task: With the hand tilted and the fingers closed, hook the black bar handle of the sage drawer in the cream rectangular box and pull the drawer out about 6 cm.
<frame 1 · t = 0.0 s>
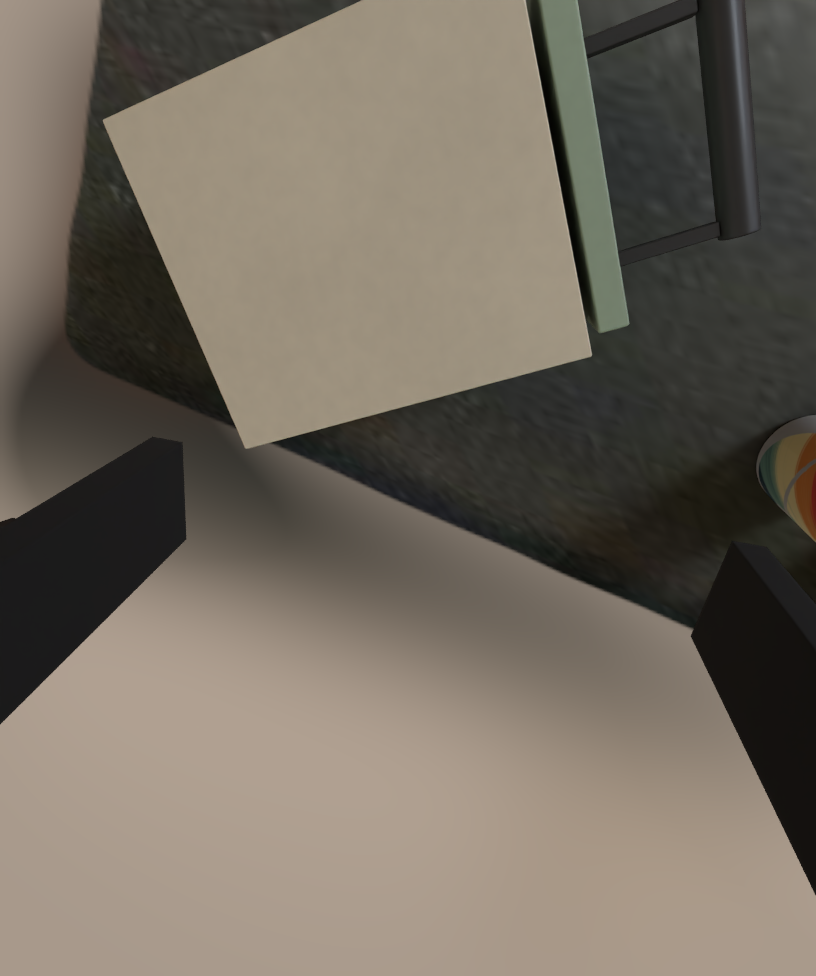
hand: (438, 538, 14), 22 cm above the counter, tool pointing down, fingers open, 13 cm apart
cream rectangular box: (396, 237, 31), on the counter
lotion bottle: (805, 458, 33), on the counter
drawer: (491, 199, 25), point 5 cm above the counter, slide at 0.5 cm
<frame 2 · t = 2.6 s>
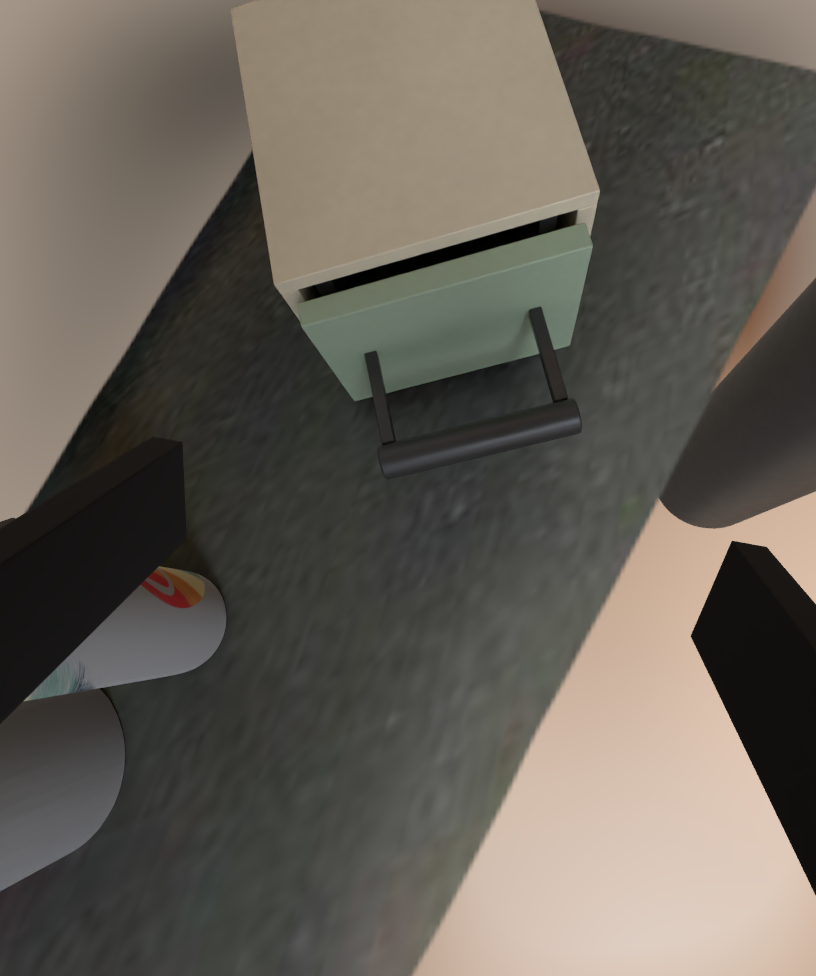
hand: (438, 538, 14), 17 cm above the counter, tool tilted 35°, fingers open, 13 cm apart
cream rectangular box: (427, 242, 35), on the counter
lotion bottle: (184, 621, 33), on the counter
coffee mug: (32, 790, 32), on the counter
drawer: (435, 266, 29), point 5 cm above the counter, slide at 0.5 cm
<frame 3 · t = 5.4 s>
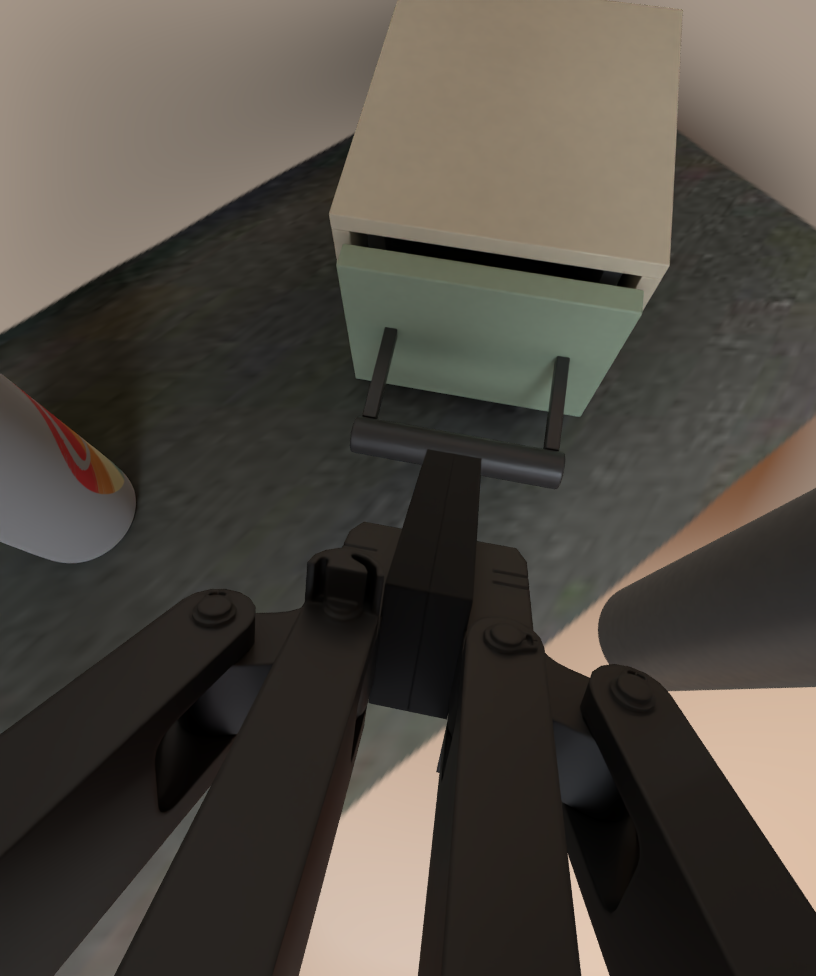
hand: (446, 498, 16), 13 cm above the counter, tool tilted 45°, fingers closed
cream rectangular box: (489, 271, 35), on the counter
lotion bottle: (86, 513, 30), on the counter
drawer: (487, 282, 28), point 5 cm above the counter, slide at 0.5 cm
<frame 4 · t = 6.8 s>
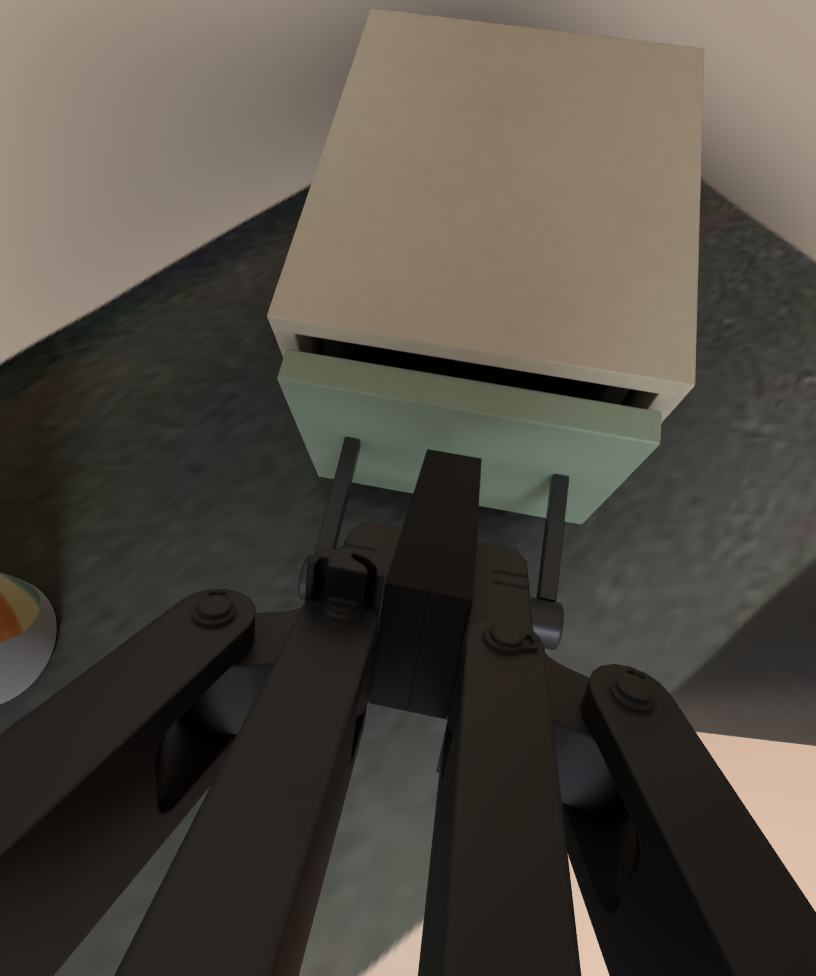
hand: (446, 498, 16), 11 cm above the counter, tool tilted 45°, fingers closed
cream rectangular box: (477, 341, 30), on the counter
drawer: (470, 374, 24), point 5 cm above the counter, slide at 0.5 cm
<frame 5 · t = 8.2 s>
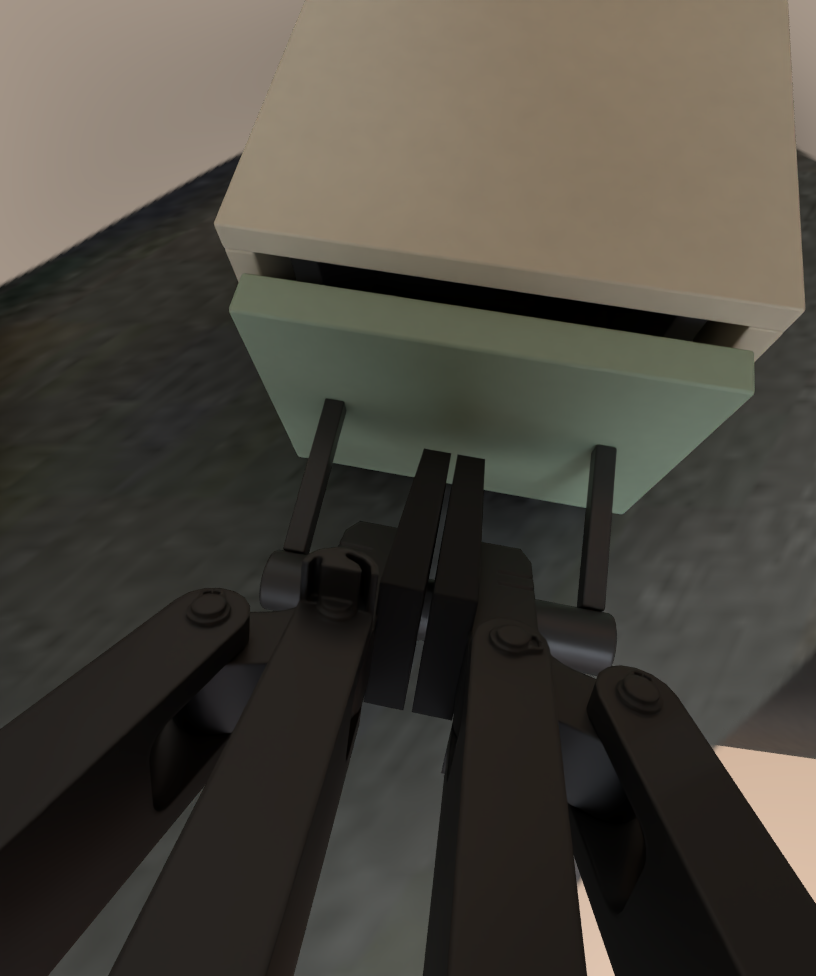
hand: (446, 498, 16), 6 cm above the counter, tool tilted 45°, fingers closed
cream rectangular box: (490, 298, 26), on the counter
drawer: (485, 323, 19), point 5 cm above the counter, slide at 0.5 cm, touching gripper
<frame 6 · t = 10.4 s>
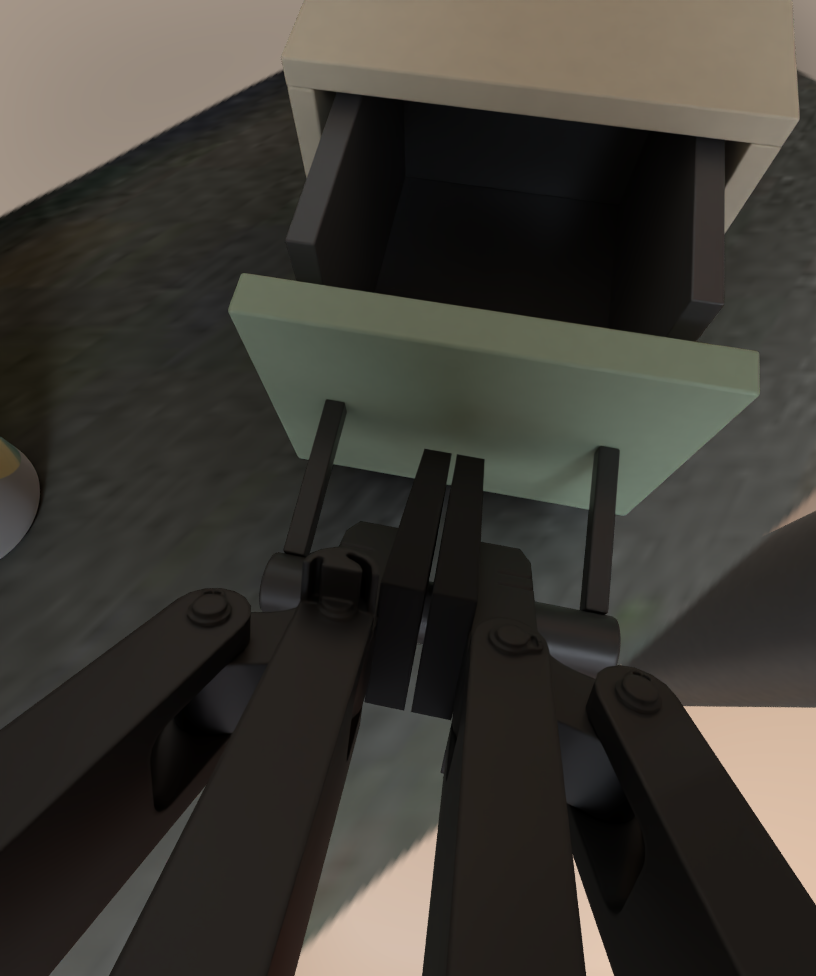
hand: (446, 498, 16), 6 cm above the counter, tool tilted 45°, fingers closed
cream rectangular box: (508, 199, 27), on the counter
drawer: (487, 324, 19), point 5 cm above the counter, slide at 6.4 cm, touching gripper
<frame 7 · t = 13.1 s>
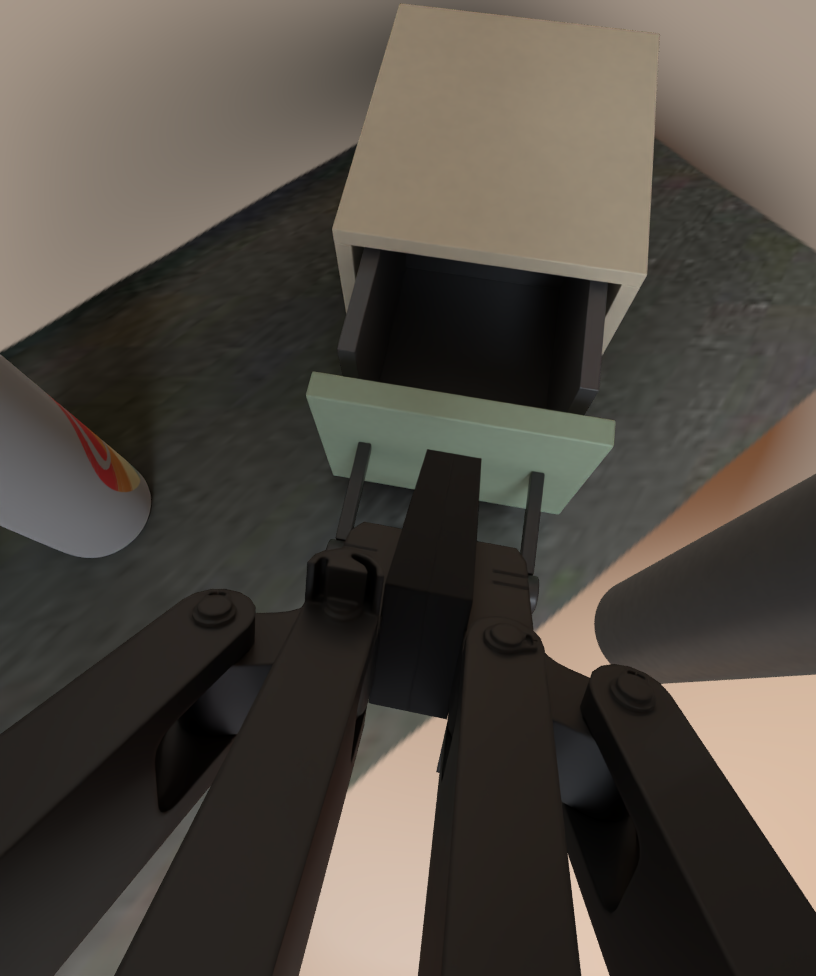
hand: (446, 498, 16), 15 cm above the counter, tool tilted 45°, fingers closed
cream rectangular box: (482, 277, 37), on the counter
lotion bottle: (104, 511, 32), on the counter
drawer: (462, 388, 28), point 5 cm above the counter, slide at 6.5 cm
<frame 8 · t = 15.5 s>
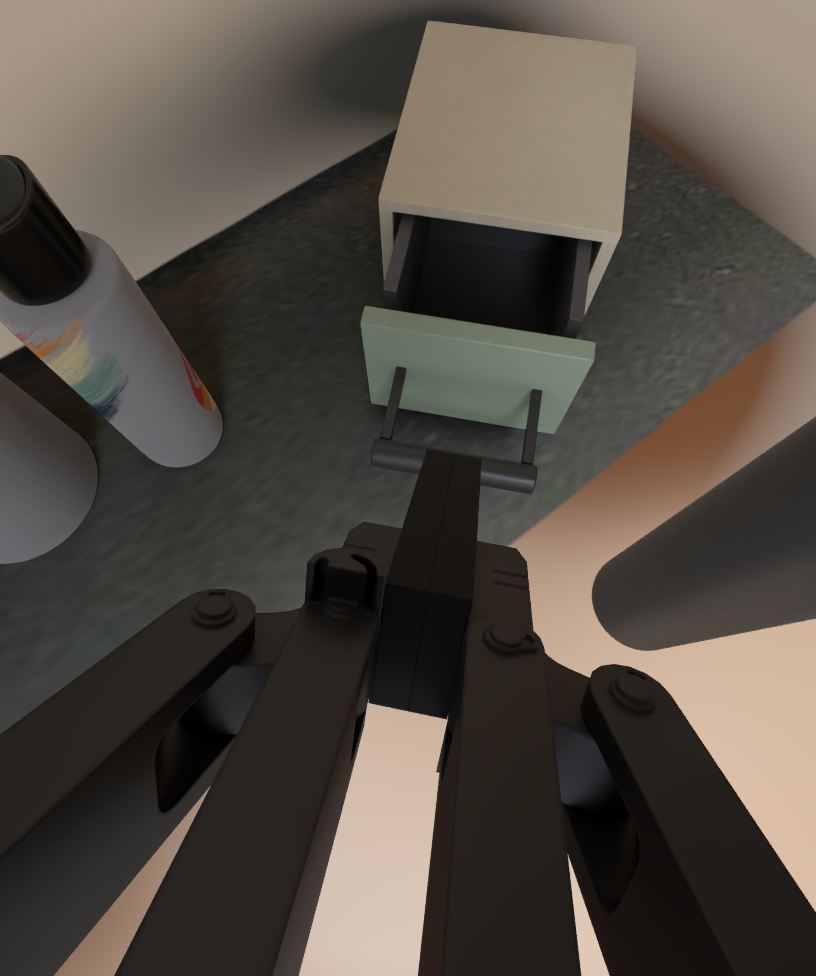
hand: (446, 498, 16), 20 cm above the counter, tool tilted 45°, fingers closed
cream rectangular box: (492, 248, 44), on the counter
lotion bottle: (184, 432, 39), on the counter
coffee mug: (0, 507, 37), on the counter
drawer: (477, 328, 35), point 5 cm above the counter, slide at 6.5 cm
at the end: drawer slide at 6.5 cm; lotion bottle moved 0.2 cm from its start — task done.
